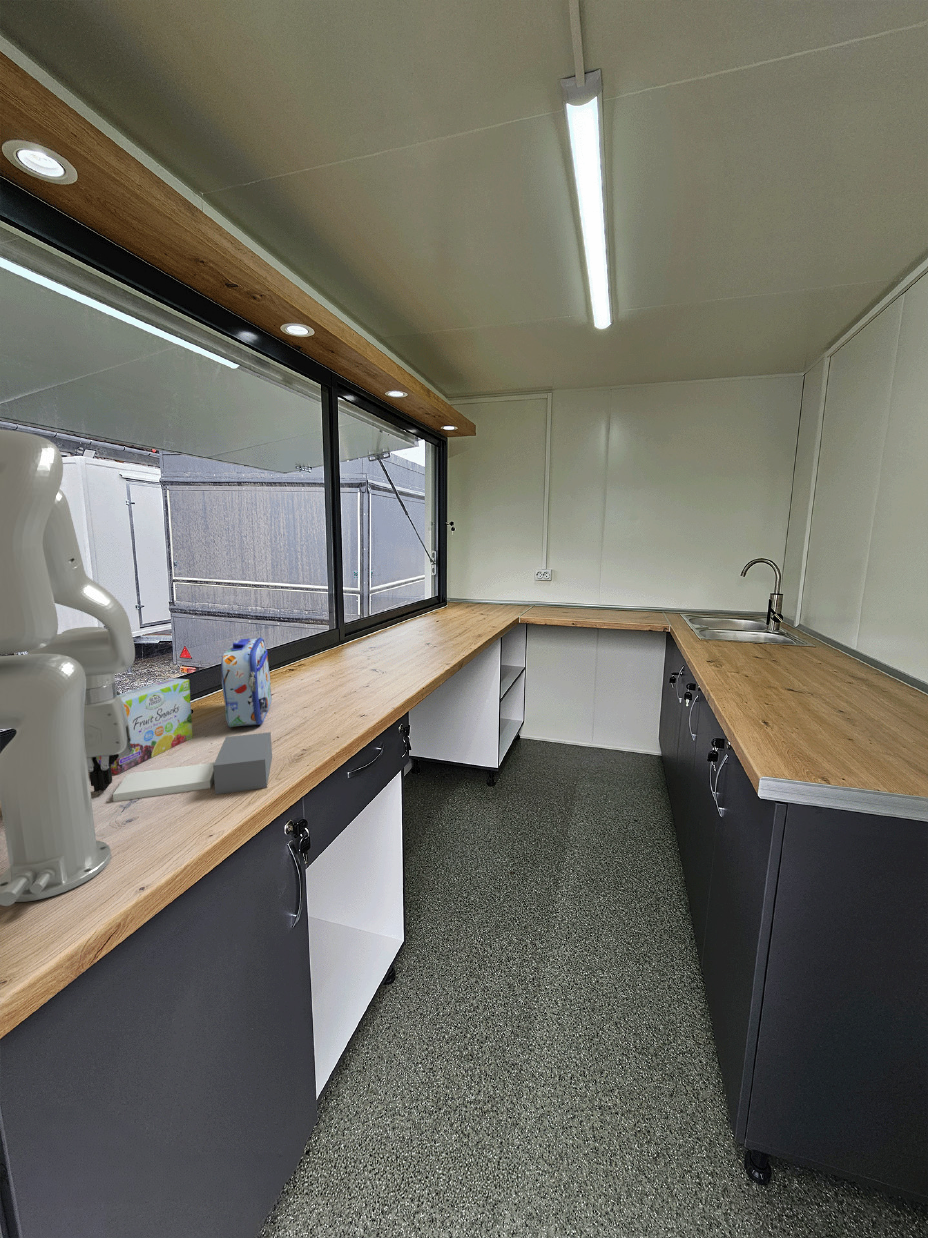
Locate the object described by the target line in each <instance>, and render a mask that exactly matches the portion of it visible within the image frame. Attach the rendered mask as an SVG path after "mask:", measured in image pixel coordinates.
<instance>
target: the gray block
mask: <svg viewBox="0 0 928 1238" xmlns="http://www.w3.org/2000/svg"><path fill="white" fill-rule="evenodd" d="M271 733H272V732H261V733H252V734H243V735H242V734H239V735H232V736H226V737H225V738H224V740H223V743H222V744H221V748H220V749H219V752H218V753H217V756H216V758H215V761H214V762H215V763H214V765H213V769H214V780H213V783H214V792H215V793H214V795H221V794H230V793H235V792H245V791H251V790H252V791H253V790H259V789H264V788H265V789H266V788H268V784H269V776H270V772H271V767H272V761H273V750H272V749H273V748H272V747H273V746H272V745H273V744H272V734H271Z"/></svg>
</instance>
